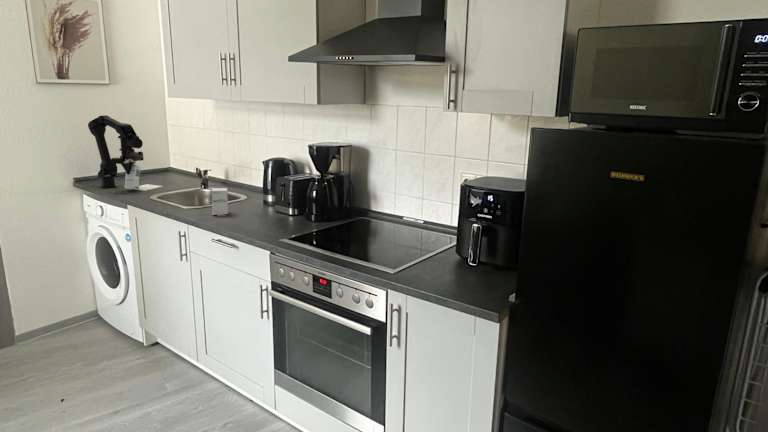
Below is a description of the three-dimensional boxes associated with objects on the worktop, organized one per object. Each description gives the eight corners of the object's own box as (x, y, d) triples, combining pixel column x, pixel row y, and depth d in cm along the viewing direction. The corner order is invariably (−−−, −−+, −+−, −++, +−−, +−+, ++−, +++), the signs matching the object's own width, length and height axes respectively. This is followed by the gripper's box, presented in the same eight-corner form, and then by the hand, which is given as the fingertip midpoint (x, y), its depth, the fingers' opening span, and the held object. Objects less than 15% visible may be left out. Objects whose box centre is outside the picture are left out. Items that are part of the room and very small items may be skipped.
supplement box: (212, 216, 251) (211, 190, 248) (212, 212, 258) (211, 187, 255) (228, 215, 253) (227, 190, 250) (228, 212, 260) (227, 187, 257)
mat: (128, 188, 304) (128, 188, 304) (146, 184, 318) (146, 184, 318) (144, 190, 301) (144, 190, 301) (162, 186, 315) (162, 186, 315)
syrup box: (134, 188, 296) (136, 163, 298) (123, 188, 296) (126, 163, 298) (139, 190, 302) (141, 165, 303) (129, 189, 302) (131, 165, 303)
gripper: (125, 149, 281) (127, 177, 285) (150, 146, 298) (152, 173, 302) (108, 148, 284) (111, 176, 288) (134, 145, 301) (136, 171, 305)
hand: (128, 174), depth 296 cm, fingers closed
